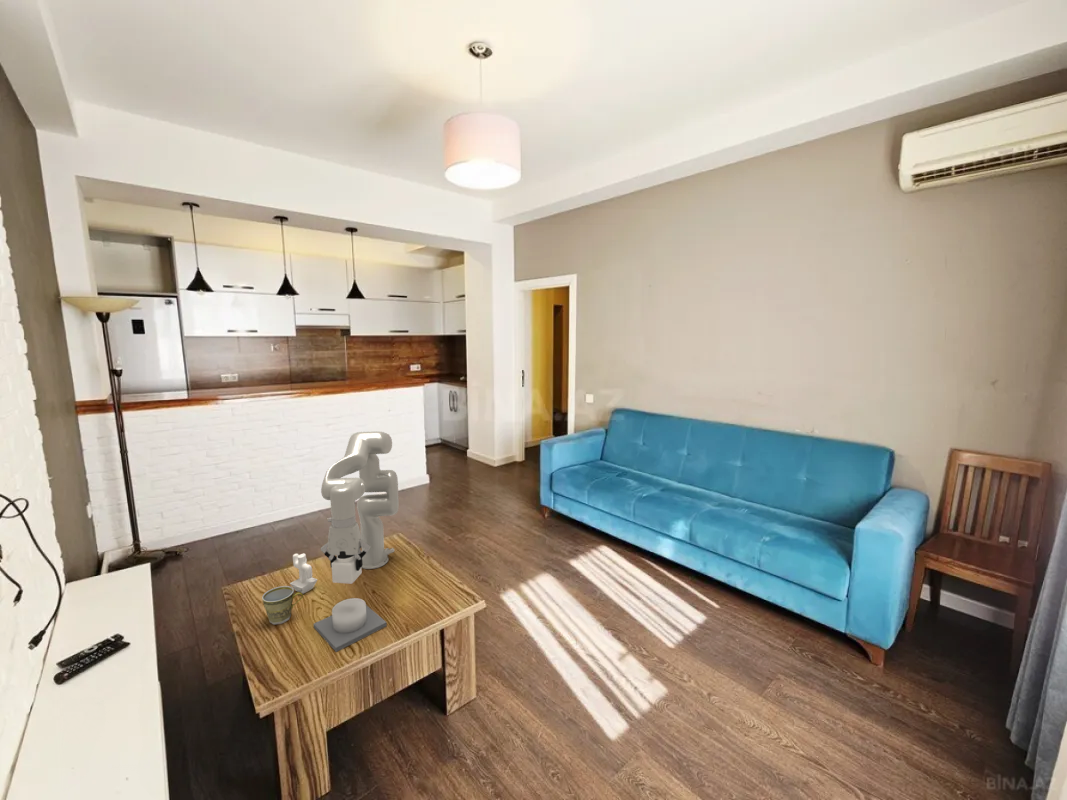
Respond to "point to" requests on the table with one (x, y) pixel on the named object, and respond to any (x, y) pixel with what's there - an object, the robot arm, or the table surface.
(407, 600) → the table surface
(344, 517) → the robot arm
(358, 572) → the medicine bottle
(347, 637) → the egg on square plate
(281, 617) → the ceramic cup
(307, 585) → the figurine
